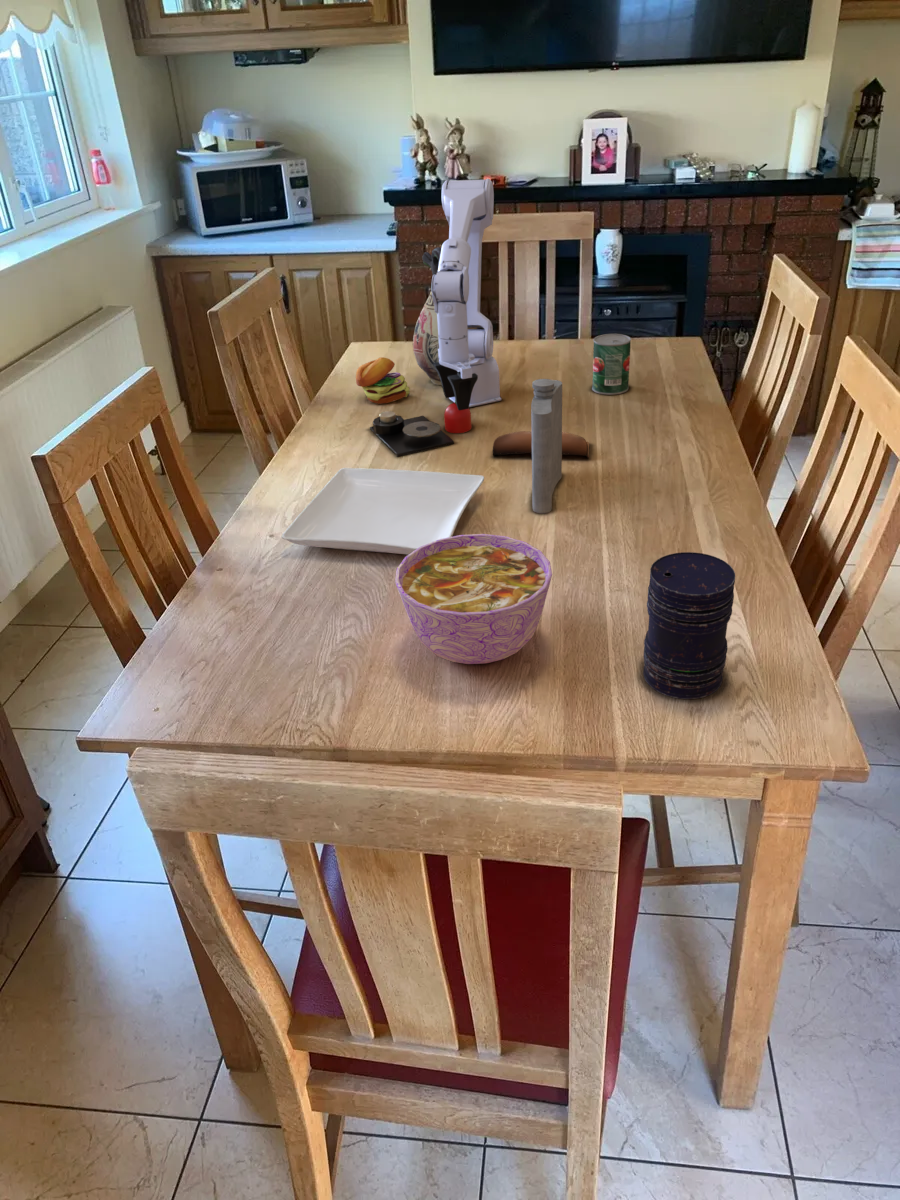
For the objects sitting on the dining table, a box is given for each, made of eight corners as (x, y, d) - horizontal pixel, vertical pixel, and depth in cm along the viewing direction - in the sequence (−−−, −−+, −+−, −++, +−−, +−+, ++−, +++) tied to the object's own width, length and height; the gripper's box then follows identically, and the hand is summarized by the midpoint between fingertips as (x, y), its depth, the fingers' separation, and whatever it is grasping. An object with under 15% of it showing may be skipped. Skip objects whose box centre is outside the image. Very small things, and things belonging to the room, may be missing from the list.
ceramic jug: (408, 375, 217) (396, 242, 201) (470, 365, 220) (463, 233, 204) (428, 398, 203) (417, 257, 187) (494, 387, 207) (489, 247, 191)
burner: (432, 419, 187) (431, 418, 187) (446, 432, 181) (446, 430, 181) (397, 427, 184) (397, 425, 184) (411, 440, 178) (411, 438, 178)
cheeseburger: (410, 403, 200) (395, 361, 195) (364, 417, 202) (348, 375, 197) (412, 387, 209) (398, 345, 204) (368, 400, 211) (353, 359, 205)
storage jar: (711, 649, 119) (723, 549, 111) (733, 696, 111) (748, 592, 103) (634, 654, 119) (640, 554, 111) (651, 702, 111) (659, 598, 103)
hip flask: (550, 514, 153) (550, 399, 143) (526, 512, 154) (524, 398, 144) (562, 473, 166) (563, 365, 156) (540, 472, 167) (539, 365, 157)
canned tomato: (585, 387, 203) (586, 337, 198) (615, 380, 206) (617, 331, 200) (605, 397, 197) (606, 347, 191) (635, 390, 200) (638, 340, 194)
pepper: (464, 421, 191) (463, 392, 187) (475, 429, 186) (474, 400, 183) (440, 426, 189) (439, 397, 186) (451, 435, 185) (449, 405, 181)
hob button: (392, 417, 188) (392, 409, 187) (398, 423, 186) (397, 414, 185) (378, 421, 187) (377, 412, 186) (383, 426, 185) (382, 417, 184)
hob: (423, 418, 193) (422, 406, 192) (454, 443, 181) (453, 431, 179) (369, 429, 190) (368, 417, 188) (397, 456, 177) (395, 444, 176)
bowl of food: (371, 649, 123) (362, 576, 117) (475, 589, 135) (471, 519, 129) (479, 713, 111) (474, 634, 105) (583, 640, 122) (584, 566, 116)
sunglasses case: (590, 440, 177) (590, 418, 171) (588, 470, 174) (588, 449, 168) (497, 438, 180) (494, 417, 174) (494, 468, 177) (490, 448, 171)
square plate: (486, 492, 162) (486, 472, 160) (444, 571, 140) (443, 549, 138) (343, 482, 169) (340, 463, 166) (281, 556, 147) (277, 534, 144)
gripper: (485, 342, 172) (488, 411, 180) (460, 323, 184) (463, 388, 191) (450, 348, 171) (454, 417, 178) (426, 328, 182) (431, 394, 190)
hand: (456, 402), depth 185 cm, fingers open, 7 cm apart
